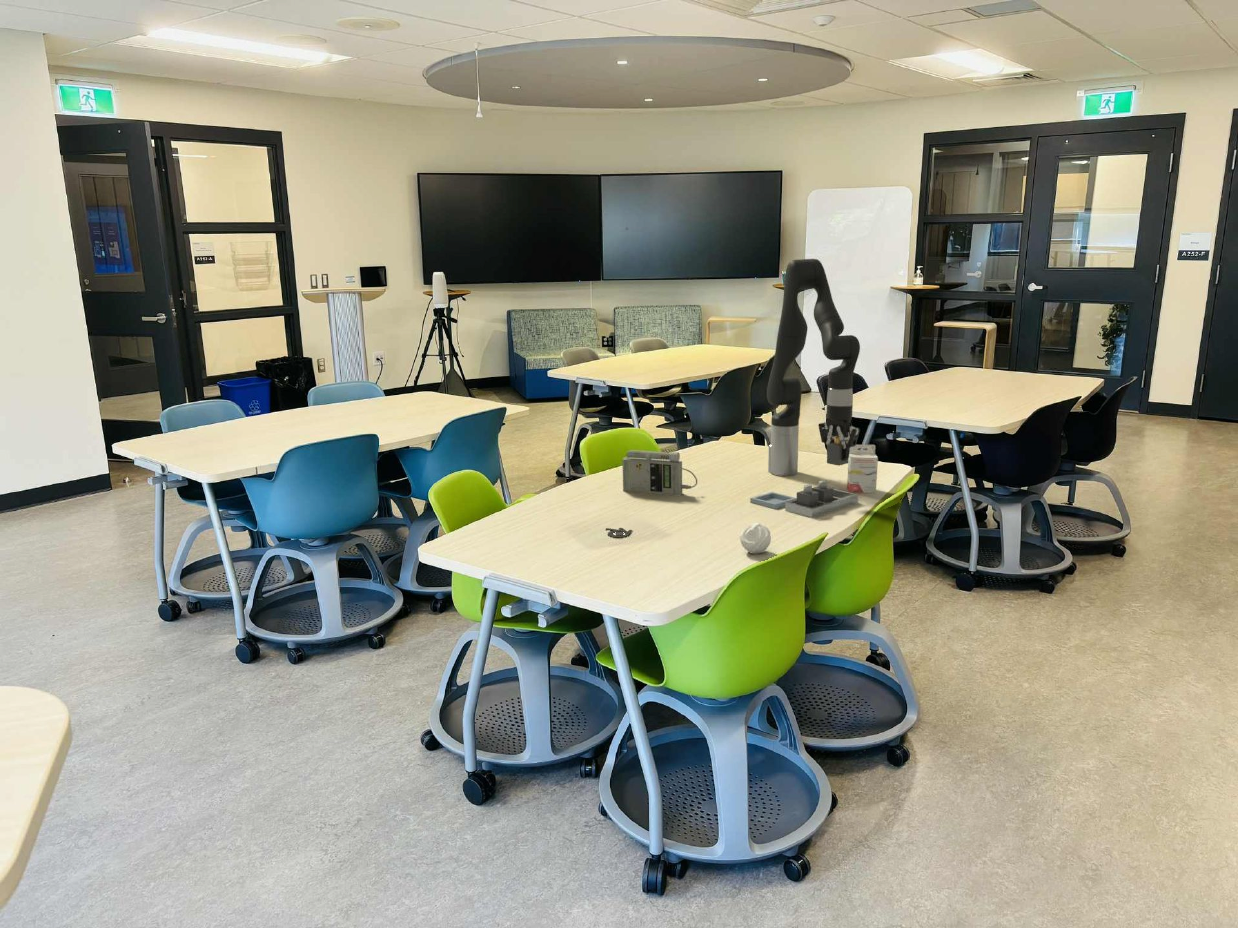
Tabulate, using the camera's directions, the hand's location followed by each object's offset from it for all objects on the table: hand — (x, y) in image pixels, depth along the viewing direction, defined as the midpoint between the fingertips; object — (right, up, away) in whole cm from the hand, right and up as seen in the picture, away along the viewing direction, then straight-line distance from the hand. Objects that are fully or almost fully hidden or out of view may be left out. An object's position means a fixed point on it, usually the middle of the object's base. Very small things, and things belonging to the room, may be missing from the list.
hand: (837, 458), depth 273 cm
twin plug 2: (-5, -15, -1) cm, 16 cm away
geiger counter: (-53, -11, +20) cm, 58 cm away
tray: (-19, -14, +5) cm, 24 cm away
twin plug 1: (-10, -16, -5) cm, 20 cm away
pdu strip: (-5, -15, -1) cm, 16 cm away
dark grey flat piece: (-68, -21, -17) cm, 73 cm away
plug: (0, -1, 0) cm, 1 cm away
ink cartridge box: (+12, -10, +16) cm, 22 cm away
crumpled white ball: (-30, -25, -38) cm, 55 cm away
